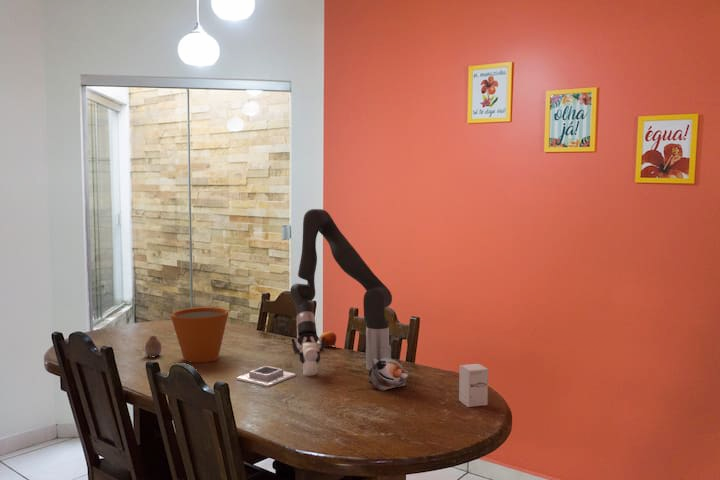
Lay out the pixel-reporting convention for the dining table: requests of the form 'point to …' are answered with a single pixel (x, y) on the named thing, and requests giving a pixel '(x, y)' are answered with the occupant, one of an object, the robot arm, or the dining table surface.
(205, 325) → the flower pot
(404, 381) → the lucky cat figurine
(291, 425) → the dining table surface
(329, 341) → the fruit
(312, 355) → the elbow
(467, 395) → the supplement box
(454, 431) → the dining table surface
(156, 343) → the reddish brown teardrop
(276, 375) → the plate
